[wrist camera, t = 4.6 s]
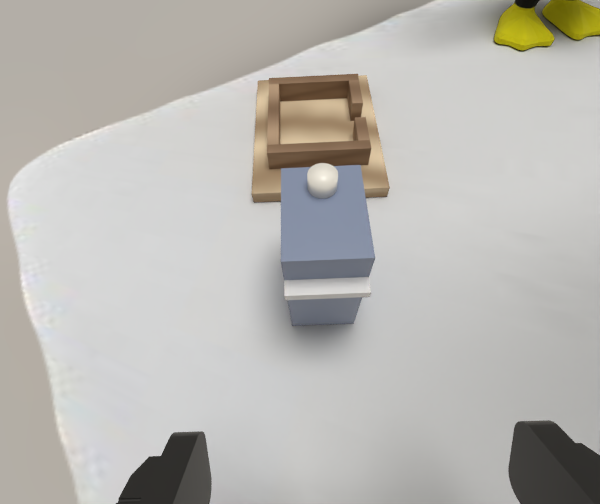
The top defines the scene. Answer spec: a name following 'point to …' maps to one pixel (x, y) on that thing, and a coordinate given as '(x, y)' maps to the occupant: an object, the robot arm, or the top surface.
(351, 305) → the servo block
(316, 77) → the wooden fixture board
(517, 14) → the toy
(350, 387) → the top surface
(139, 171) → the top surface
